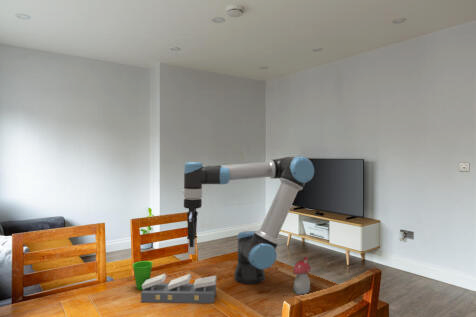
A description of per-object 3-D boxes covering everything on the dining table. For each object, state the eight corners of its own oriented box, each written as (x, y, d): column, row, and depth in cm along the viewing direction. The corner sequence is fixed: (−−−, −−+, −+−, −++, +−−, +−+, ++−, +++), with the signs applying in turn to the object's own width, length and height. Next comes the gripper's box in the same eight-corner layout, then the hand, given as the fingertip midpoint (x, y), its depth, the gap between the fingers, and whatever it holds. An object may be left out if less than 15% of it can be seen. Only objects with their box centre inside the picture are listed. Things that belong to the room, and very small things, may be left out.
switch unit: (215, 292, 138) (215, 280, 138) (213, 303, 128) (213, 290, 128) (148, 291, 139) (148, 279, 139) (140, 302, 129) (140, 289, 129)
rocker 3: (216, 279, 136) (216, 275, 136) (215, 284, 130) (214, 280, 130) (196, 282, 137) (195, 279, 137) (194, 288, 131) (193, 284, 131)
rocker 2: (191, 277, 137) (190, 273, 137) (189, 282, 131) (187, 279, 131) (172, 283, 137) (171, 280, 137) (168, 289, 131) (167, 286, 131)
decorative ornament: (306, 287, 144) (306, 254, 144) (315, 293, 138) (315, 259, 138) (288, 291, 140) (289, 257, 140) (297, 297, 134) (297, 262, 134)
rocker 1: (166, 276, 137) (165, 273, 137) (162, 282, 131) (161, 278, 131) (147, 283, 137) (146, 280, 137) (142, 289, 131) (141, 285, 131)
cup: (147, 293, 138) (147, 268, 138) (128, 291, 140) (128, 266, 140) (156, 284, 147) (156, 261, 147) (138, 283, 149) (138, 260, 149)
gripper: (186, 196, 140) (185, 249, 140) (181, 200, 127) (180, 258, 127) (203, 196, 140) (202, 249, 140) (199, 200, 127) (198, 258, 127)
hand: (191, 253), depth 133 cm, fingers closed
